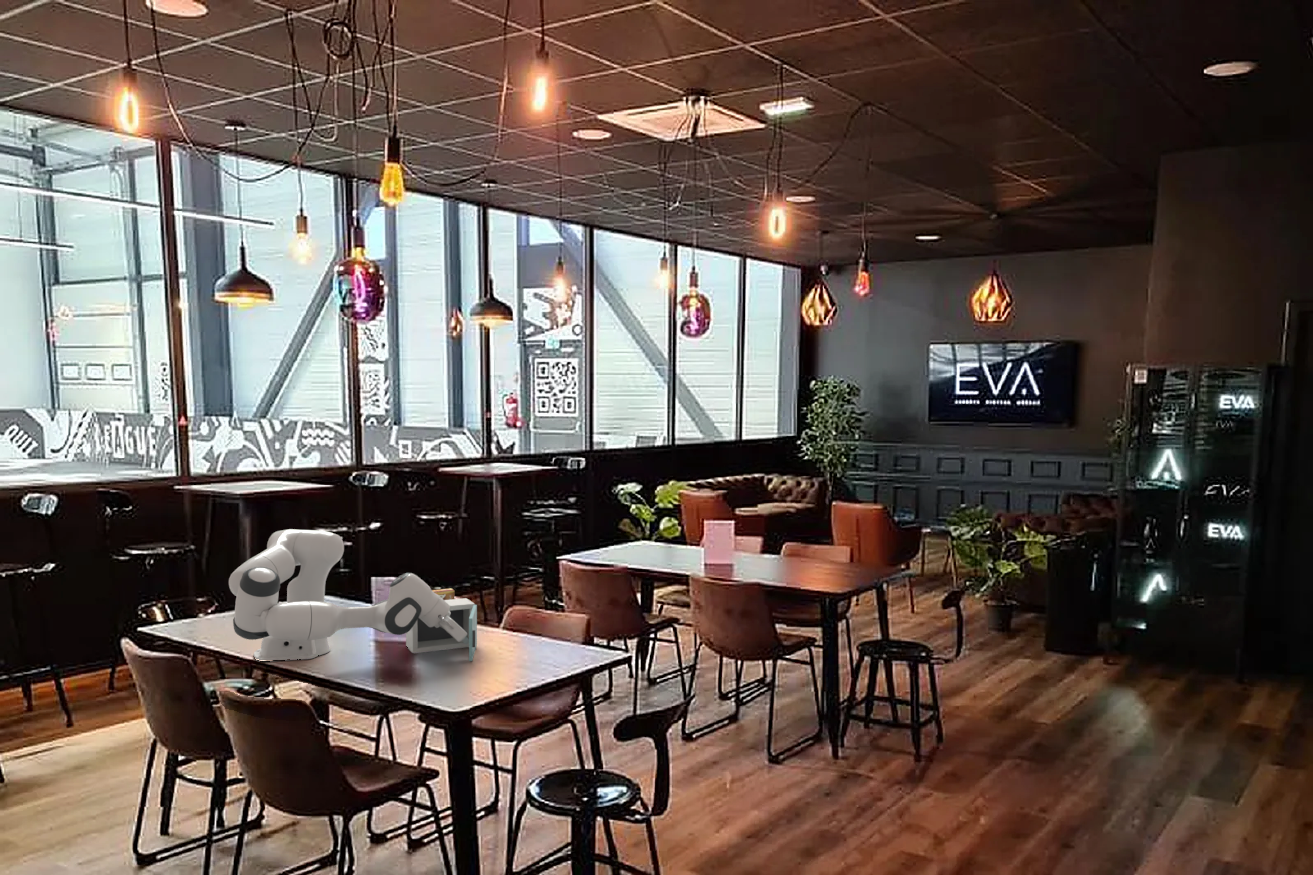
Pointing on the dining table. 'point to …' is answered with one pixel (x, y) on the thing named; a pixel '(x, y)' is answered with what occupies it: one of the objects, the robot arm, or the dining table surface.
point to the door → (472, 632)
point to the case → (440, 630)
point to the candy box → (445, 593)
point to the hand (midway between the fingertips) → (466, 641)
